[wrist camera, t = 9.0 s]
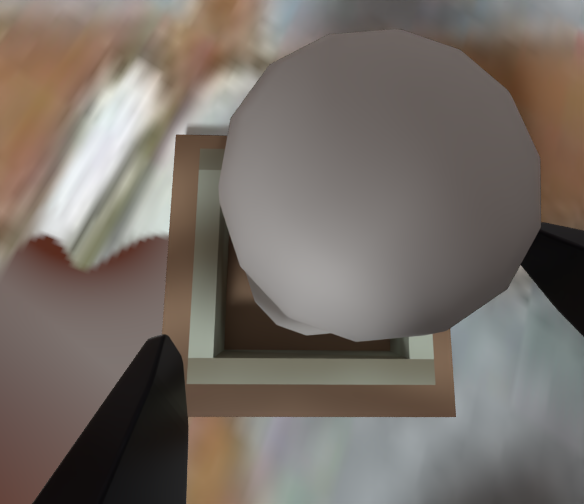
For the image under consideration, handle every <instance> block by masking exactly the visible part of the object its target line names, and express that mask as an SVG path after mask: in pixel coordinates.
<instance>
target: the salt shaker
mask: <svg viewBox="0 0 584 504" xmlns="http://www.w3.org/2000/svg"><path fill="white" fill-rule="evenodd" d="M218 188H219V203H220V206H221V209H222V212H223V215H224V218H225V222H226V225H227V228H228V231H229V234H230V237H231V240H232V243H233V246H234V249H235V252H236V255H237V258H238V261H239V264H240V267H241V268H242V269H243V270H244V271H245V272H246V275H247V278H248V282H249V285H250V288H251V291H252V294H253V297H254V300H255V302H256V303H257V304H258V306H259V307H260V308H261V309H262V310H263V311H264V312H265V313H266V314H267V315H268V316H269V317H270V318H271V319H272V320H273V321H274V323H275V324H276V325H278V326H281V327H284V328H287V329H290V330H292V331H295V332H298V333H301V334H303V335H317V334H328V333H332V334H335V335H338V336H341V337H343V338H346V339H349V340H352V341H355V342H360V341H371V340H381V339H392V338H403V337H413V336H424V335H430V334H434V333H439V332H443V331H447V330H448V329H450V328H451V327H453V326H454V325H456V324H457V323H458V322H460V321H461V320H463V319H464V318H466V317H467V316H469V315H470V314H472V313H473V312H474V311H476V310H477V309H479V308H480V307H482V306H483V305H485V304H486V303H488V302H489V301H491V300H492V299H493V298H495V297H496V296H498V295H499V294H501V293H502V292H504V291H505V290H507V289H508V287H509V285H510V283H511V281H512V279H513V277H514V276H515V274H516V272H517V270H518V268H519V266H520V265H521V263H522V261H523V259H524V257H525V255H526V254H527V252H528V250H529V248H530V246H531V244H532V243H533V241H534V239H535V237H536V235H537V233H538V232H539V230H540V228H541V185H540V156H539V154H538V152H537V150H536V148H535V146H534V144H533V141H532V139H531V137H530V135H529V133H528V131H527V128H526V126H525V124H524V122H523V120H522V118H521V115H520V113H519V111H518V109H517V107H516V105H515V103H514V100H513V98H512V96H511V94H510V93H509V91H508V90H507V89H506V88H505V87H503V86H502V85H501V84H500V83H499V82H498V81H496V80H495V79H494V78H493V77H492V76H490V75H489V74H488V73H487V72H486V71H485V70H483V69H482V68H481V67H480V66H479V65H478V64H476V63H475V62H474V61H473V60H472V59H470V58H469V57H468V56H467V55H466V54H465V53H463V52H462V51H461V50H459V49H457V48H454V47H451V46H448V45H445V44H442V43H439V42H436V41H434V40H431V39H428V38H425V37H422V36H419V35H416V34H413V33H410V32H408V31H405V30H402V29H389V30H377V31H365V32H352V33H340V34H328V35H326V36H324V37H322V38H320V39H318V40H316V41H314V42H313V43H311V44H309V45H307V46H305V47H303V48H301V49H299V50H297V51H295V52H293V53H291V54H289V55H287V56H285V57H283V58H281V59H279V60H277V61H275V62H273V63H272V64H270V65H269V66H268V67H267V69H266V70H265V71H264V73H263V74H262V76H261V77H260V78H259V80H258V81H257V82H256V84H255V85H254V87H253V88H252V89H251V91H250V92H249V94H248V95H247V96H246V98H245V99H244V100H243V102H242V103H241V105H240V106H239V107H238V109H237V110H236V112H235V113H234V114H233V116H232V117H231V119H230V125H229V130H228V136H227V141H226V147H225V152H224V158H223V163H222V169H221V174H220V180H219V185H218Z"/></svg>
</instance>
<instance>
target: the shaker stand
mask: <svg viewBox="0 0 584 504" xmlns="http://www.w3.org/2000/svg"><path fill="white" fill-rule="evenodd" d="M226 141H227V136H219V135H176V142H175V156H174V171H173V185H172V199H171V213H170V228H169V242H168V257H167V272H166V286H165V299H164V313H163V328H162V334H166V335H168V336H169V337H170V338H171V340H172V342H173V343H174V345H175V346H176V348H177V349H178V351H179V353H180V354H181V356H182V359H183V365H184V377H185V389H186V402H187V414H188V417H456V410H455V395H454V380H453V365H452V350H451V335H450V329H448V330H447V331H443V332H439V333H434V334H430V335H424V336H413V337H403V338H392V339H381V340H371V341H360V342H355V341H352V340H349V339H346V338H343V337H341V336H338V335H335V334H332V333H328V334H317V335H303V334H301V333H298V332H295V331H292V330H290V329H287V328H284V327H281V326H278V325H276V324H275V323H274V321H273V320H272V319H271V318H270V317H269V316H268V315H267V314H266V313H265V312H264V311H263V310H262V309H261V308H260V307H259V306H258V304H257V303H256V302H255V300H254V297H253V294H252V291H251V288H250V285H249V282H248V278H247V275H246V272H245V271H244V270H243V269H242V268H241V267H240V264H239V261H238V258H237V255H236V252H235V249H234V246H233V243H232V240H231V237H230V234H229V231H228V228H227V225H226V222H225V218H224V215H223V212H222V209H221V206H220V203H219V188H218V185H219V180H220V174H221V169H222V163H223V158H224V152H225V147H226Z"/></svg>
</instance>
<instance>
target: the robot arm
mask: <svg viewBox="0 0 584 504" xmlns="http://www.w3.org/2000/svg"><path fill="white" fill-rule="evenodd" d="M521 266H522V267H523V268H524V270H525V271H526V272H527V273H528V274H529V276H530V277H531V278H532V279H533V281H534V282H535V283H536V284H537V286H538V287H539V288H540V289H541V290H542V292H543V293H544V294H545V295H546V297H547V298H548V299H549V300H550V302H551V303H552V304H553V305H554V306H555V307H556V309H557V310H558V311H559V312H560V313H561V314H562V315H563V316H564V317H565V318H566V319H567V320H568V321H569V322H570V323H571V324H572V325H573V326H574V327H575V328H576V329H577V330H578V331H579V332H580V333H581V334H582V335H583V336H584V231H583V230H578V229H573V228H568V227H564V226H559V225H554V224H549V223H544V222H541V228H540V230H539V232H538V233H537V235H536V237H535V239H534V241H533V243H532V244H531V246H530V248H529V250H528V252H527V254H526V255H525V257H524V259H523V261H522V263H521ZM187 460H188V414H187V402H186V389H185V377H184V365H183V359H182V356H181V354H180V353H179V351H178V349H177V348H176V346H175V345H174V343H173V342H172V340H171V338H170V337H169V336H168V335H166V334H162V335H159V336H155V337H152V338H150V339H148V340H147V341H146V343H145V344H144V345H143V347H142V348H141V350H140V351H139V352H138V354H137V355H136V357H135V358H134V360H133V361H132V362H131V364H130V365H129V367H128V368H127V370H126V371H125V372H124V374H123V375H122V377H121V378H120V379H119V381H118V382H117V384H116V385H115V387H114V388H113V389H112V391H111V392H110V394H109V395H108V397H107V398H106V399H105V401H104V402H103V404H102V405H101V406H100V408H99V409H98V411H97V412H96V414H95V415H94V417H93V418H92V419H91V421H90V422H89V424H88V425H87V427H86V428H85V429H84V431H83V432H82V434H81V435H80V437H79V438H78V439H77V441H76V442H75V444H74V445H73V447H72V448H71V449H70V451H69V452H68V454H67V455H66V456H65V458H64V459H63V461H62V462H61V463H60V465H59V466H58V468H57V469H56V471H55V472H54V473H53V475H52V476H51V478H50V479H49V481H48V482H47V483H46V485H45V486H44V488H43V489H42V491H41V492H40V493H39V495H38V496H37V498H36V499H35V501H34V502H33V503H32V504H186V490H187Z"/></svg>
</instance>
